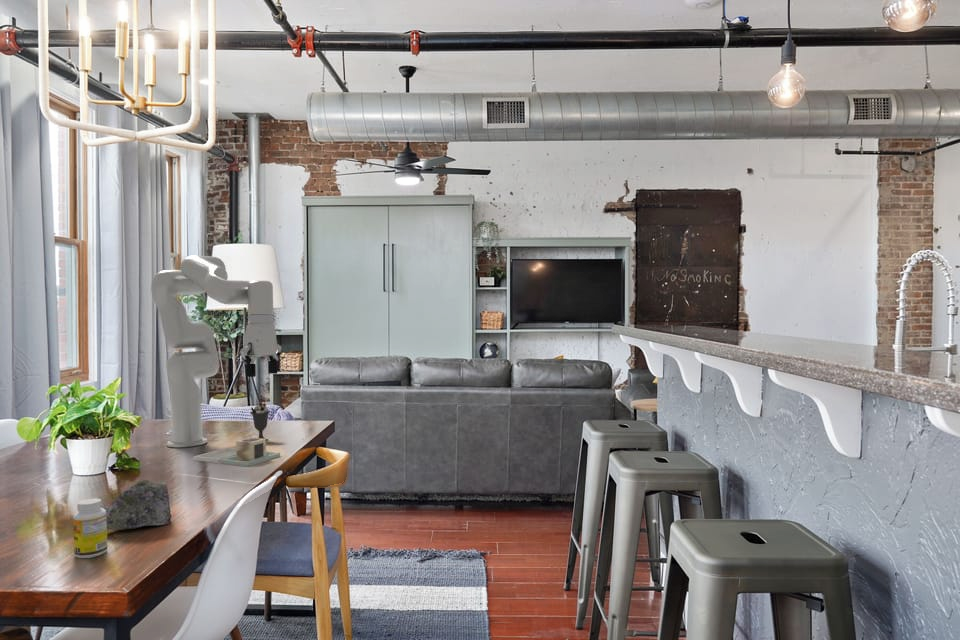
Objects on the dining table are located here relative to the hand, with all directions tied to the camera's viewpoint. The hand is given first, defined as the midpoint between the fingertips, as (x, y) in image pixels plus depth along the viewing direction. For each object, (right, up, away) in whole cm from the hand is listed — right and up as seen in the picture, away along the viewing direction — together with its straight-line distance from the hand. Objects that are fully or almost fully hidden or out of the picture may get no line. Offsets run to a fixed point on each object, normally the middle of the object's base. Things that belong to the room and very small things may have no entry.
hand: (262, 375), depth 212 cm
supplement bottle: (-7, -28, -82) cm, 87 cm away
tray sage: (-1, -26, -6) cm, 26 cm away
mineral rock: (-6, -28, -66) cm, 71 cm away
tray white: (-12, -26, -1) cm, 28 cm away
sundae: (-9, -25, +25) cm, 37 cm away
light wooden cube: (-1, -25, -6) cm, 26 cm away
